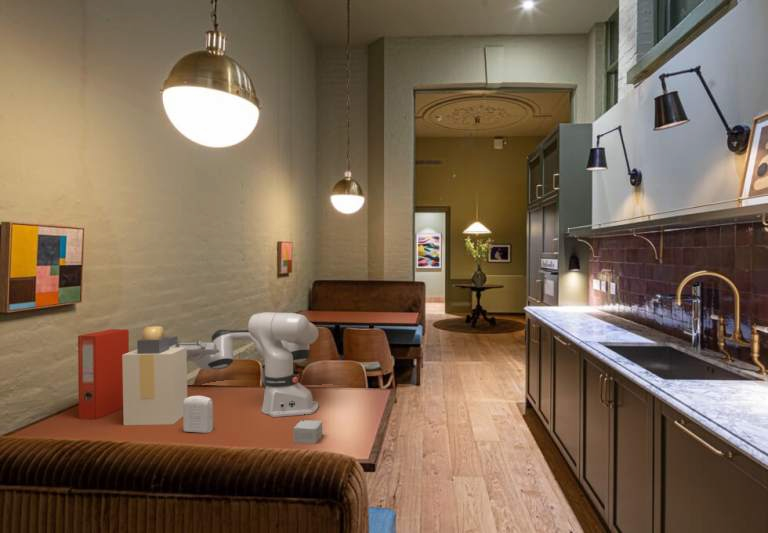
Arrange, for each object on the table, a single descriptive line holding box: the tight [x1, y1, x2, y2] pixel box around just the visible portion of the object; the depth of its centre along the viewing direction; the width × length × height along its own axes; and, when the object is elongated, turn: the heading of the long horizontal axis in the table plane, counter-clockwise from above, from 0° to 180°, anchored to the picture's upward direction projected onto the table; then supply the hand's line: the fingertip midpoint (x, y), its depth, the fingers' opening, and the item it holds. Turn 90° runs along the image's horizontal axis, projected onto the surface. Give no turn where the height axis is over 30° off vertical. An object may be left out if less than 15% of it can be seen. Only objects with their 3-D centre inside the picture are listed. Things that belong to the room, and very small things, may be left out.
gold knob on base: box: [136, 325, 178, 354], centre depth 179 cm, size 21×8×10 cm, turn 1°
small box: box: [293, 419, 323, 445], centre depth 152 cm, size 8×8×5 cm
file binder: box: [77, 328, 130, 421], centre depth 183 cm, size 8×17×32 cm, turn 170°
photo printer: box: [182, 395, 214, 434], centre depth 161 cm, size 10×4×12 cm, turn 81°
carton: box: [122, 347, 188, 426], centre depth 174 cm, size 18×13×26 cm
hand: (187, 342), depth 202 cm, fingers open, 8 cm apart
